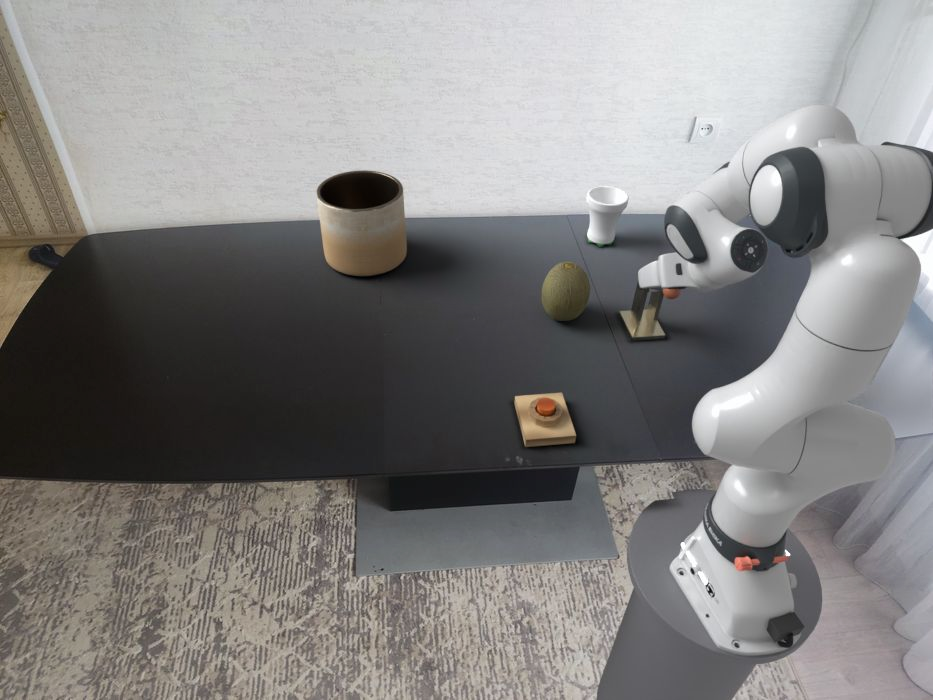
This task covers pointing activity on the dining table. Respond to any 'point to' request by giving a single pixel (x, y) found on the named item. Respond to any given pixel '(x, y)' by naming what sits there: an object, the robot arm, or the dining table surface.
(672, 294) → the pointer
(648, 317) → the lever bracket
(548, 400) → the button
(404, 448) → the dining table surface
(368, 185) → the planter
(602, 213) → the cup
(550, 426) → the button block
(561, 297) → the fruit
